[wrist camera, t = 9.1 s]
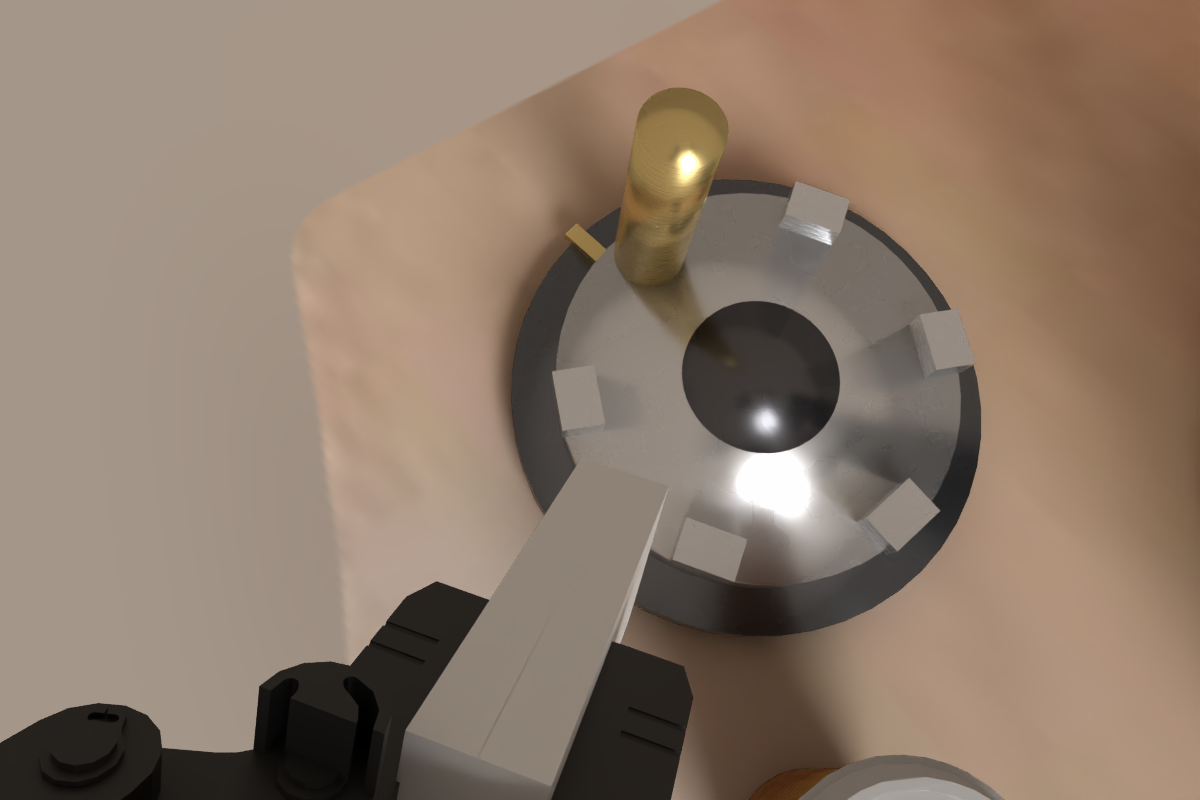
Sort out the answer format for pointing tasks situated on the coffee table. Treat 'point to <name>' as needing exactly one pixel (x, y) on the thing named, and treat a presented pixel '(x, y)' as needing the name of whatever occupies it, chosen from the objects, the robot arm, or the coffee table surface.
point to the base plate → (673, 588)
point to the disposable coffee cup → (878, 782)
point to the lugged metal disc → (757, 367)
